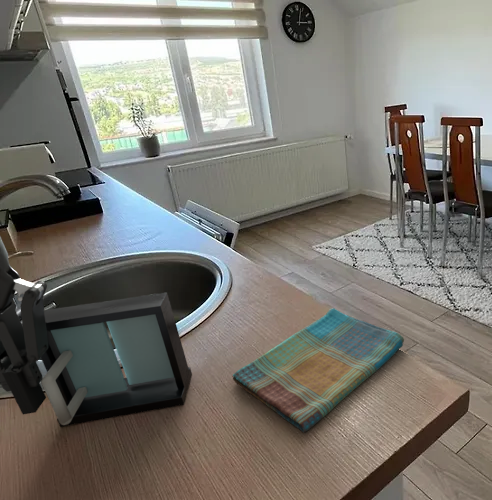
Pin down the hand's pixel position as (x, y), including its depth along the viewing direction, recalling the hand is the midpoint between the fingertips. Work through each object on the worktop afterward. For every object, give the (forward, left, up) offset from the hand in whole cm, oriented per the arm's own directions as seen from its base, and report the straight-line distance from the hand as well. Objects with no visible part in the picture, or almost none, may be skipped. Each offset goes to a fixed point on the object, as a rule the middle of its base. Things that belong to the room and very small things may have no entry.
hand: (34, 405), depth 54 cm
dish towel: (+38, +7, -7) cm, 39 cm away
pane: (+4, +3, -5) cm, 7 cm away
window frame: (+8, +6, -7) cm, 12 cm away
